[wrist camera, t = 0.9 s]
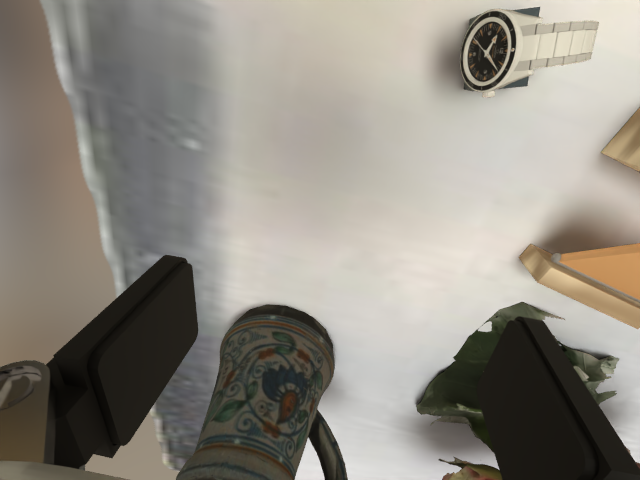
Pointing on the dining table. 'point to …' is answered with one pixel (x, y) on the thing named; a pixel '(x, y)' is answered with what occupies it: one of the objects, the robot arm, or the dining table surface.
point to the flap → (607, 267)
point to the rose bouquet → (463, 375)
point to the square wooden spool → (636, 152)
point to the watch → (519, 47)
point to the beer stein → (268, 401)
